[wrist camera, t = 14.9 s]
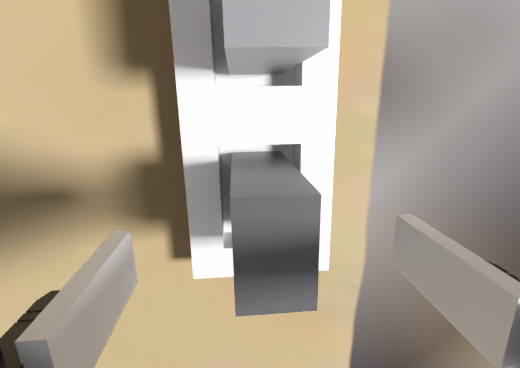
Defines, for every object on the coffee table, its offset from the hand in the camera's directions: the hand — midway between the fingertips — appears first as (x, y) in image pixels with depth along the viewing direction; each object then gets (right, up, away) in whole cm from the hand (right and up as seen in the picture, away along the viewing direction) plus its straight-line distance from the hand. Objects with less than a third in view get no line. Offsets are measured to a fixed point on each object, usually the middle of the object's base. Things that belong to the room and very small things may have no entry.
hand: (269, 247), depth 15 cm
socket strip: (-1, +9, +10) cm, 13 cm away
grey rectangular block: (-1, +3, +11) cm, 11 cm away
